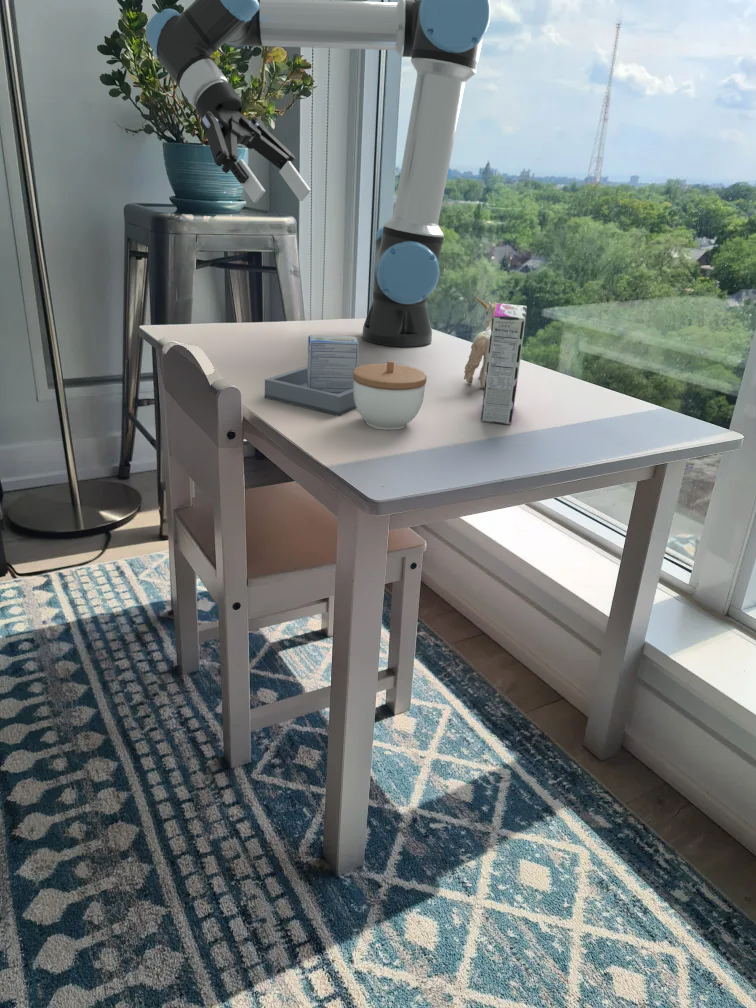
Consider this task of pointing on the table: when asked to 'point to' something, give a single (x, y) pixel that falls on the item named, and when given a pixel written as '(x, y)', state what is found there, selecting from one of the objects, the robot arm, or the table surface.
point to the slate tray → (307, 393)
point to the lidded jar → (388, 394)
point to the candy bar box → (503, 363)
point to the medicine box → (332, 362)
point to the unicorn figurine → (480, 347)
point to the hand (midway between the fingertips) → (283, 196)
